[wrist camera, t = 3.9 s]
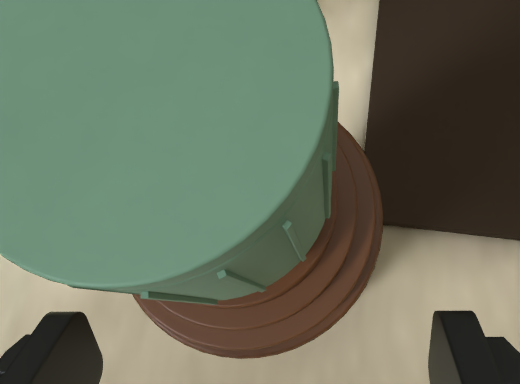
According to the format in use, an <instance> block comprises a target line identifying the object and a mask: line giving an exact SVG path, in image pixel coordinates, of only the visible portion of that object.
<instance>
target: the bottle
mask: <svg viewBox="0 0 520 384" xmlns="http://www.w3.org/2000/svg"><path fill="white" fill-rule="evenodd" d="M382 232H383V209H382V201H381V194H380V190H379V187H378V183H377V179H376V176H375V174H374V171H373V169H372V167H371V164H370V162H369V160H368V159H367V157H366V155H365V153H364V152H363V150H362V148H361V147H360V145H359V144H358V143H357V142H356V140H355V139H354V138H353V137H352V135H351V134H350V133H349V132H348V131H347V130H346V129H345V128H344V127H343V126H342V125H341V124H340V123H339V122H337V148H336V171H332V190H331V215H330V218H329V219H328V218H326V219H325V222H324V225H323V227H322V229H321V231H320V233H319V235H318V237H317V239H316V241H315V242H314V244H313V245H312V247H311V248H310V250H309V251H308V253H307V254H306V255H305V256H306V260H305V261H304V262H302V261H300V262H299V263H298V264H297V265H296V266H295V267H294V268H293V269H292V270H290V271H289V272H288V273H287V274H286V275H285V276H283V277H282V278H280V279H279V280H277V281H276V282H274V283H273V284H271V285H269V286H267V287H265V288H266V291H264V292H262V293H261V292H258V291H257V292H255V293H252V294H249V295H246V296H243V297H239V298H233V299H228V300H218V304H215V305H212V304H199V303H187V302H175V301H163V300H151V299H141V295H138V294H132V295H133V297H134V298H135V300H136V301H137V303H138V304H139V305H140V307H141V308H142V310H143V311H144V312H145V313H146V314H147V316H148V317H149V318H150V319H151V320H152V321H153V322H154V323H155V324H156V325H157V326H158V327H160V328H161V329H162V330H163V331H165V332H166V333H167V334H168V335H170V336H171V337H173V338H174V339H176V340H178V341H180V342H181V343H183V344H185V345H187V346H189V347H192V348H194V349H196V350H199V351H201V352H204V353H208V354H212V355H216V356H220V357H229V358H238V359H242V358H261V357H266V356H272V355H277V354H280V353H283V352H287V351H290V350H293V349H296V348H298V347H300V346H302V345H304V344H306V343H308V342H310V341H312V340H314V339H315V338H317V337H318V336H320V335H321V334H323V333H324V332H326V331H327V330H329V329H330V328H331V327H332V326H333V325H334V324H335V323H337V322H338V321H339V320H340V319H341V318H342V317H343V316H344V315H345V314H346V313H347V312H348V310H349V309H350V308H351V307H352V306H353V304H354V303H355V302H356V301H357V299H358V298H359V296H360V294H361V293H362V291H363V290H364V288H365V287H366V285H367V283H368V281H369V278H370V276H371V274H372V272H373V270H374V267H375V264H376V261H377V257H378V254H379V251H380V245H381V239H382Z"/></svg>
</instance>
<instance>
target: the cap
mask: <svg viewBox="0 0 520 384" xmlns="http://www.w3.org/2000/svg"><path fill="white" fill-rule="evenodd" d="M333 72H334V67H333V57H332V47H331V41H330V37H329V33H328V29H327V25H326V21H325V18H324V16H323V14H322V11H321V9H320V7H319V4H318V2H317V0H0V254H1V255H2V256H3V257H4V258H6V259H8V260H9V261H11V262H13V263H14V264H16V265H17V266H19V267H21V268H22V269H24V270H26V271H28V272H30V273H33V274H35V275H38V276H40V277H43V278H45V279H48V280H50V281H54V282H58V283H63V284H67V285H68V286H70V287H73V288H80V289H90V290H99V291H109V292H119V293H128V294H138V295H141V299H151V300H163V301H175V302H187V303H199V304H212V305H215V304H218V300H228V299H233V298H239V297H243V296H246V295H249V294H252V293H255V292H257V291H258V292H261V293H262V292H264V291H266V288H265V287H267V286H269V285H271V284H273V283H274V282H276V281H277V280H279V279H280V278H282V277H283V276H285V275H286V274H287V273H288V272H289V271H290V270H292V269H293V268H294V267H295V266H296V265H297V264H298V263H299V262H300V261H302V262H304V261H305V260H306V256H305V255H306V254H307V253H308V251H309V250H310V248H311V247H312V245H313V244H314V242H315V241H316V239H317V237H318V235H319V233H320V231H321V229H322V227H323V225H324V222H325V219H326V218H328V219H329V218H330V215H331V190H332V171H336V148H337V122H338V96H339V85H338V81H335V82H333Z"/></svg>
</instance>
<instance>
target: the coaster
mask: <svg viewBox="0 0 520 384" xmlns="http://www.w3.org/2000/svg"><path fill="white" fill-rule="evenodd" d="M364 153H365V155H366V157H367V159H368V160H369V162H370V164H371V167H372V169H373V171H374V174H375V176H376V179H377V183H378V187H379V190H380V194H381V201H382V209H383V225H391V226H400V227H409V228H417V229H426V230H435V231H443V232H452V233H460V234H469V235H478V236H486V237H495V238H504V239H512V240H520V0H380V1H379V11H378V21H377V31H376V41H375V51H374V61H373V71H372V82H371V92H370V102H369V112H368V122H367V132H366V142H365V152H364Z"/></svg>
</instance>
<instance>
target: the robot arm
mask: <svg viewBox="0 0 520 384" xmlns="http://www.w3.org/2000/svg"><path fill="white" fill-rule="evenodd" d="M428 368H429V378H430V384H520V353H519V352H518V351H517V350H516V349H515V348H514V347H513V346H512V345H511V344H510V343H509V342H508V341H507V340H506V339H505V338H504V337H485V335H484V333H483V331H482V328H481V326H480V324H479V321H478V319H477V317H476V315H475V313H474V312H473V311H435V312H434V314H433V321H432V330H431V340H430V349H429V359H428ZM102 370H103V358H102V354H101V351H100V349H99V347H98V344H97V342H96V339H95V337H94V334H93V332H92V329H91V327H90V324H89V322H88V320H87V317H86V315H85V314H84V313H82V312H49V313H47V314H46V315H45V316H44V317H43V318H42V320H41V321H40V323H39V324H38V325H37V327H36V328H35V330H34V331H33V333H32V334H31V335H25V336H24V337H23V338H21V339H20V340H19V341H18V342H17V343H15V344H14V345H13V346H12V347H11V348H9V349H8V350H7V351H6V352H5V353H4V354H3V356H2V357H1V358H0V384H99V382H100V379H101V375H102Z"/></svg>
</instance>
